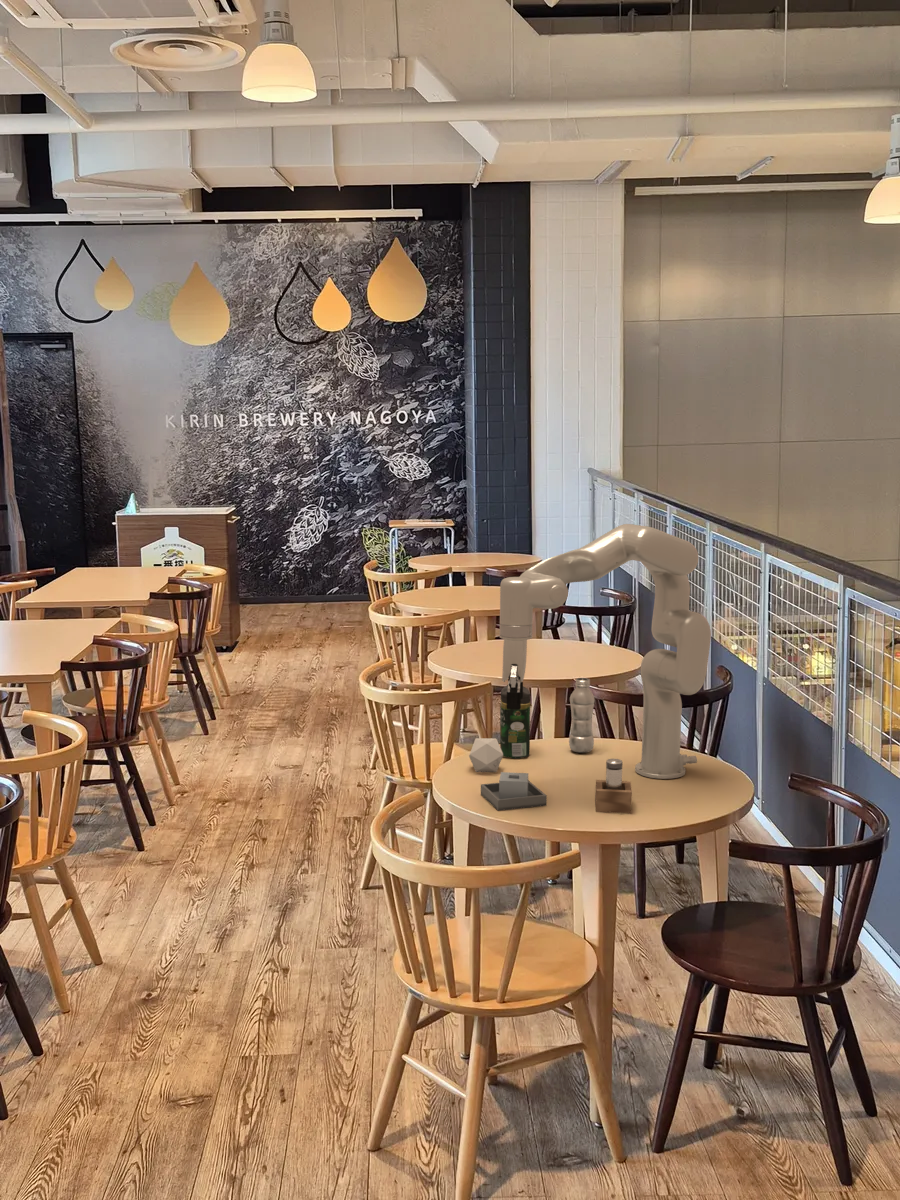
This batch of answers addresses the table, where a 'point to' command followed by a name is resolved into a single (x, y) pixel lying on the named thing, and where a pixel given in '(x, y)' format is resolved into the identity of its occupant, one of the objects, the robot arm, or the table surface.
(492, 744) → the die
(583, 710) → the plastic bottle
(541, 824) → the table surface
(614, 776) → the spice jar
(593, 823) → the table surface
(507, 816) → the table surface
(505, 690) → the coffee jar
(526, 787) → the small block
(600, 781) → the block
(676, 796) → the table surface
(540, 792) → the tray
